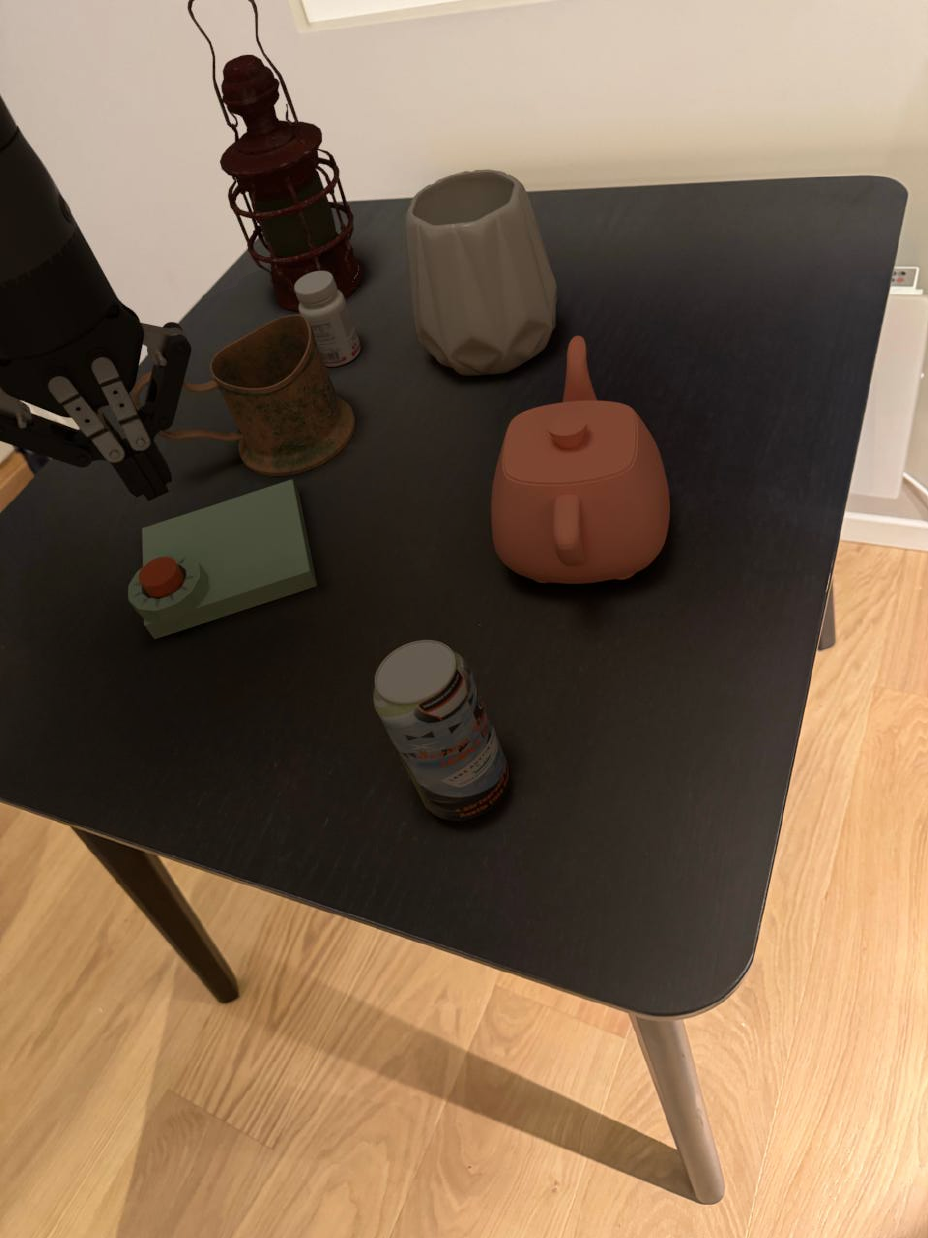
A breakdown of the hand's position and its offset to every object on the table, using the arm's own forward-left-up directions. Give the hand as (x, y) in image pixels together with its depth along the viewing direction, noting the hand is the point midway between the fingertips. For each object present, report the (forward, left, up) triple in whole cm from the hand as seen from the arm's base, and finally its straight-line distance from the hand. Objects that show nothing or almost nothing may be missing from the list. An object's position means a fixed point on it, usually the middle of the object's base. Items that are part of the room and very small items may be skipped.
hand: (155, 489), depth 61 cm
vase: (+28, +29, -17) cm, 44 cm away
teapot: (+28, 0, -17) cm, 33 cm away
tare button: (-6, +7, -14) cm, 16 cm away
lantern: (+13, +51, -17) cm, 56 cm away
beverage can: (+13, -18, -17) cm, 28 cm away
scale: (-1, +10, -17) cm, 20 cm away
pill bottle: (+13, +36, -17) cm, 42 cm away
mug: (+4, +24, -17) cm, 30 cm away
